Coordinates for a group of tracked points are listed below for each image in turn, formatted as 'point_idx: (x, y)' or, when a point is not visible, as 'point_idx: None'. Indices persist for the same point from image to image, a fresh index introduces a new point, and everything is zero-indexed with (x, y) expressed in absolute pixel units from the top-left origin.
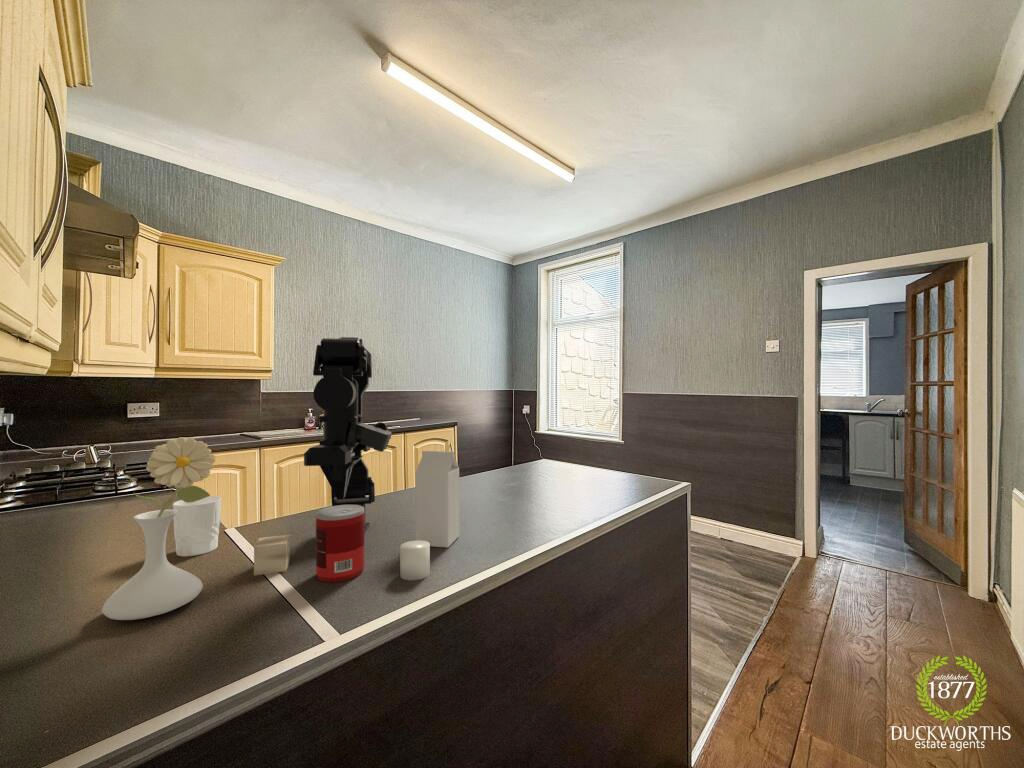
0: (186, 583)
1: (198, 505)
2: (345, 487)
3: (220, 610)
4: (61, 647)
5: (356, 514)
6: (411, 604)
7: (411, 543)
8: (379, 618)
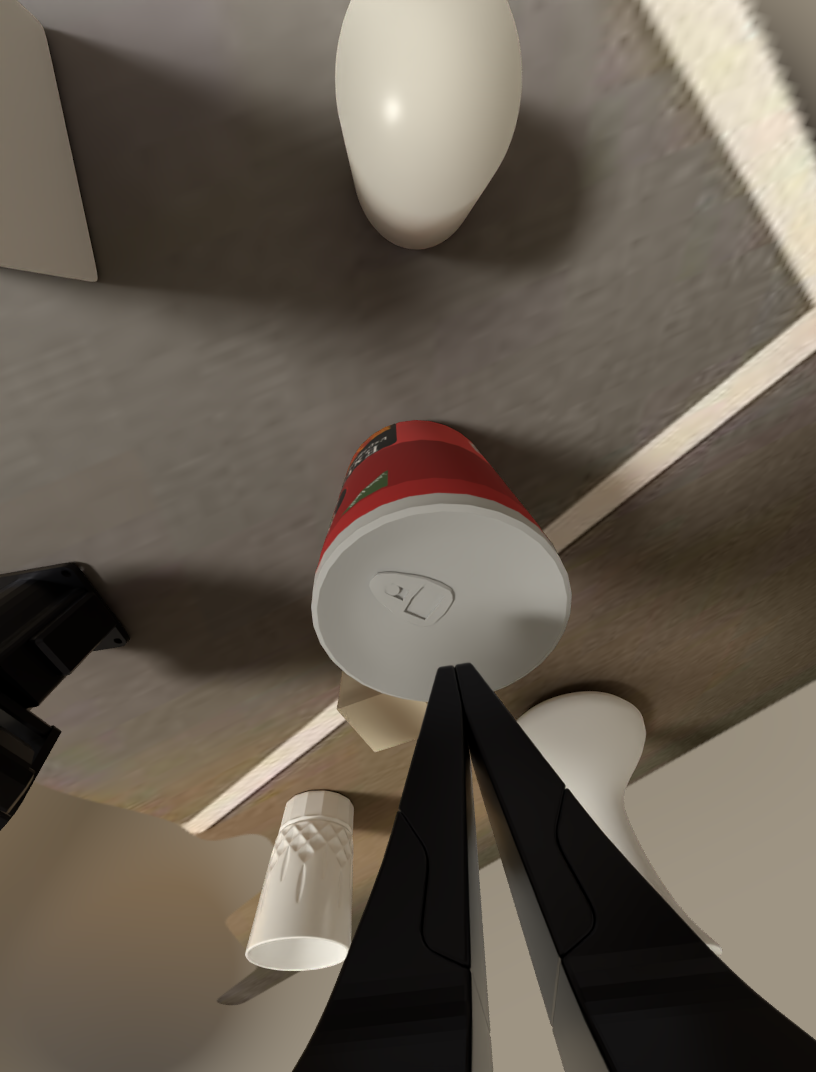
0: (592, 728)
1: (333, 938)
2: (492, 728)
3: (596, 634)
4: (662, 737)
5: (501, 511)
6: (703, 82)
7: (400, 138)
8: (767, 203)
